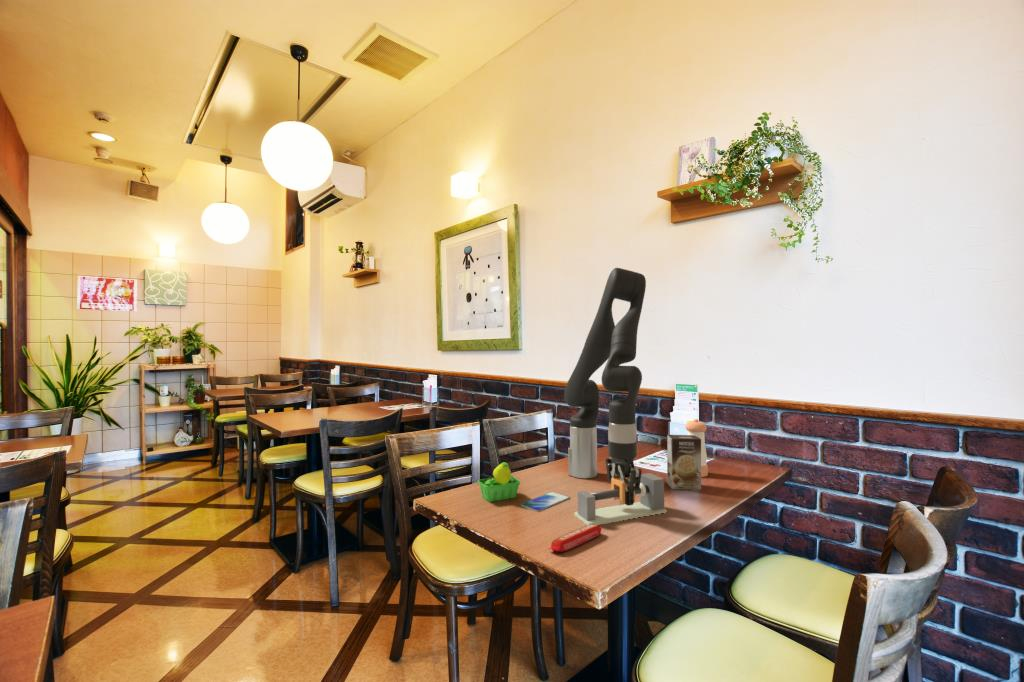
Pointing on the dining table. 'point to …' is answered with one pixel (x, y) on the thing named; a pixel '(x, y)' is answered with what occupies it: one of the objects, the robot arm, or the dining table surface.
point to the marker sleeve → (618, 484)
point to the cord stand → (648, 505)
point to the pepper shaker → (698, 430)
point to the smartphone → (544, 501)
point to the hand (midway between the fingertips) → (623, 501)
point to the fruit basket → (499, 484)
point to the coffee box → (684, 462)
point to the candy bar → (575, 538)
